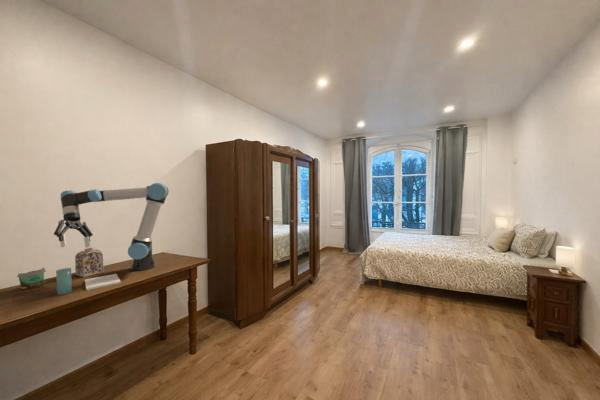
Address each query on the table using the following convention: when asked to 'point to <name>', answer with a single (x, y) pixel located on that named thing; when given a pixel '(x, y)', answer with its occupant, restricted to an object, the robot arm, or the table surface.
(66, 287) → the teal canister
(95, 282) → the pale board
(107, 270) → the table surface
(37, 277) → the food container
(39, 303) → the table surface
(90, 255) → the decorative jar
